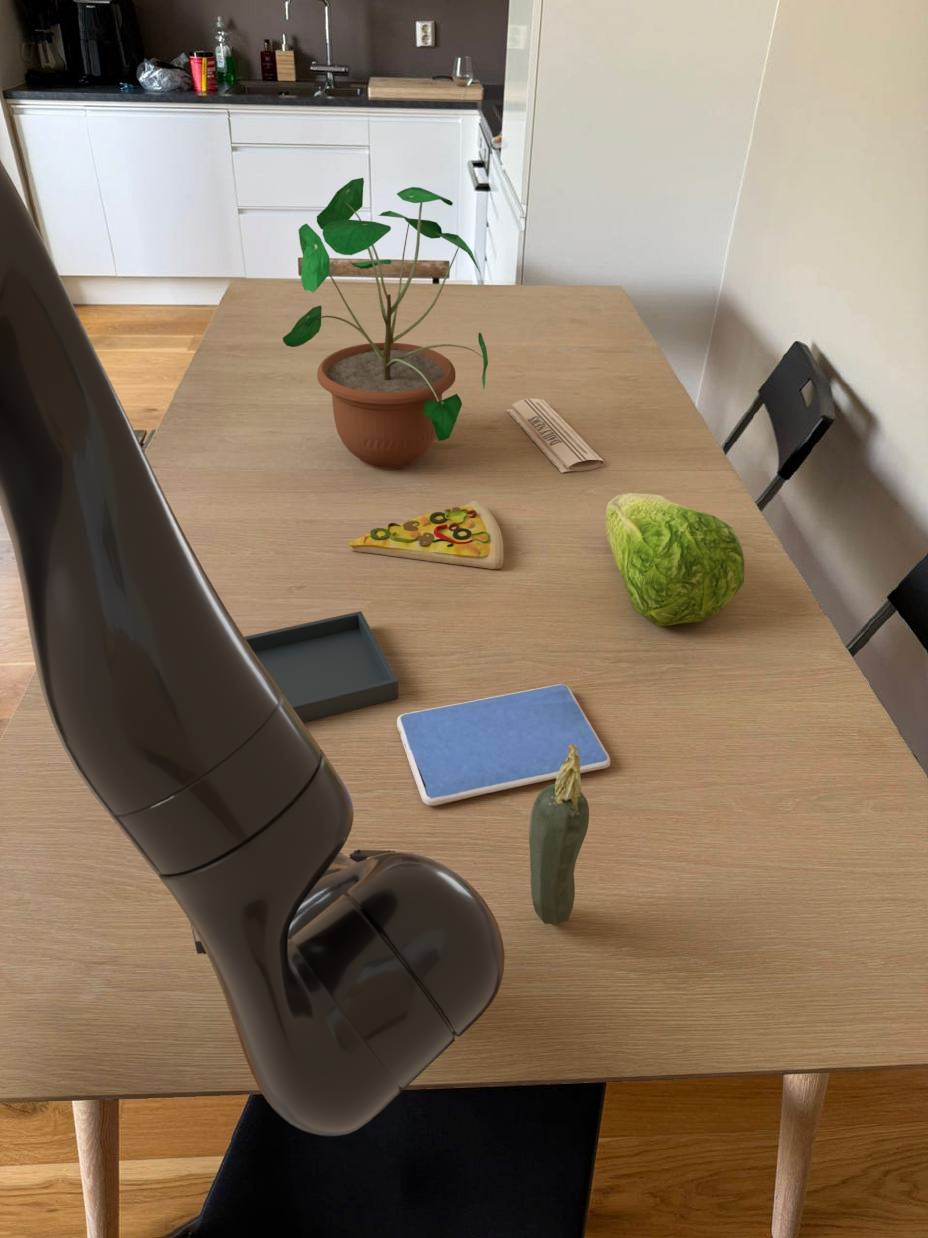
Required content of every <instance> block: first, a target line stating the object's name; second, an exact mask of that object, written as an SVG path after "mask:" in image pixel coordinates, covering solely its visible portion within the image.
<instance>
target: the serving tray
mask: <svg viewBox="0 0 928 1238" xmlns="http://www.w3.org/2000/svg"><path fill="white" fill-rule="evenodd" d="M244 638H245V639H246V641H247V642H248V644H249V645H250V647H251V648H252V650H253V651H254V653H255V654H256V655H257V657H258V658H259V660H260V661H261V663H262V664H263V665H264V667H265V668H266V670H267V671H268V673H269V674H270V675H271V677H272V678H273V680H274V681H275V683H276V684H277V685H278V687H279V688H280V690H281V692H282V693H283V694H284V696H285V697H286V699H287V700H288V702H289V703H290V704H291V706H292V707H293V709H294V710H295V712H296V713H297V715H298V716H299V718H300V719H301V720H302V722H303V723H304V724H305V723H307V722H312V721H315V720H319V719H323V718H326V717H330V716H335V715H338V714H342V713H347V712H350V711H354V710H358V709H362V708H367V707H369V706H373V705H378V704H381V703H386V702H389V701H393V700H397V699H399V698H400V697H399V696H400V695H399V680H398V679H397V678H398V677H397V676H396V674H395V673H394V670H393V669H392V667H391V665H390V663H389V661H388V659H387V657H386V655H385V652H383V650H382V647H381V646H380V644H379V641H378V639H377V638H376V636H375V634H374V632H373V630H372V629H371V627H370V625H369V622H368V621H367V619H366V617H365V616H364V613H363V612H362V611H361V610H359V611H355V612H351V613H346V614H341V615H336V616H332V617H328V618H324V619H323V618H322V619H318V620H315V621H309V622H306V623H305V622H304V623H301V624H296V625H291V626H287V627H283V628H282V627H281V628H278V629H273V630H268V631H264V632H260V633H255V634H250V635H246V636H244Z"/></svg>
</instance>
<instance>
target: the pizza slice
mask: <svg viewBox="0 0 928 1238" xmlns="http://www.w3.org/2000/svg"><path fill="white" fill-rule="evenodd" d="M347 544H348V546H349V549H350V551H351V552H358V553H366V554H374V555H381V556H389V557H396V558H403V559H409V560H410V559H411V560H418V561H426V562H427V561H428V562H434V563H435V562H437V563H443V564H450V565H459V566H467V567H475V568H481V569H482V568H483V569H490V570H499V569H501V568H502V567H503V564H504V540H503V536H502V532H501V529H500V526H499V524H498V522H497V520H496V519H495V517H494V516H493V515H492V513H491V512H490V511H489V510H488V509H487V508H486V507H485V505H484V504H482V503H481V502H480V501H477V500H471V501H470V502H468V503H467V504H465V505H460V506H455V507H451V508H446V509H444V510H442V511H437V512H436V511H435V512H430V513H427V514H424V515H421V516H417V517H416V518H413V519H409V520H407V521H405V522H402V523H401V522H400V523H396V522H390V523H388V525H387V526H385V527H375V528H373V529H371V530H370V531H369V533H367V534H364V535H362V536H360V537H358V538H355V539H354V540H351V541H349V542H348V543H347Z"/></svg>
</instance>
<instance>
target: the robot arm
mask: <svg viewBox="0 0 928 1238" xmlns="http://www.w3.org/2000/svg"><path fill="white" fill-rule="evenodd" d="M79 316H80V315H79V314H78V312H77V310H76V308H75V305H74V304H73V302H72V300H71V297H70V295H69V293H68V291H67V288H66V286H65V285H64V282H63V280H62V278H61V276H60V274H59V271H58V270H57V267H56V265H55V263H54V261H53V259H52V257H51V254H50V252H49V250H48V248H47V246H46V244H45V242H44V240H43V237H42V235H41V233H40V232H39V229H38V228H37V226H36V223H35V221H34V220H33V217H32V215H31V214H30V212H29V210H28V208H27V206H26V204H25V202H24V200H23V198H22V197H21V195H20V192H19V191H18V189H17V187H16V185H15V184H14V182H13V180H12V178H11V177H10V174H9V173H8V171H7V169H6V168H5V165H4V164H3V161H1V159H0V510H1V512H2V516H3V519H4V522H5V526H6V529H7V532H8V535H9V539H10V542H11V544H12V548H13V553H14V557H15V562H16V566H17V571H18V575H19V580H20V585H21V589H22V590H21V591H22V597H23V602H24V603H23V604H24V609H25V614H26V621H27V628H28V633H29V638H30V641H31V642H30V643H31V649H32V653H33V658H34V664H35V668H36V673H37V678H38V681H39V685H40V687H41V688H40V689H41V692H42V696H43V699H44V702H45V705H46V709H47V711H48V714H49V717H50V720H51V722H52V725H53V727H54V729H55V732H56V734H57V736H58V739H59V741H60V744H61V746H62V748H63V749H64V750H65V753H66V755H67V756H68V759H69V760H70V762H71V764H72V766H73V768H74V770H75V771H76V772H77V774H78V775H79V776H80V778H81V780H82V781H83V782H84V784H85V786H86V787H87V788H88V790H89V791H90V792H91V794H92V795H93V796H94V798H95V799H96V800H97V802H98V803H99V804H100V805H101V807H102V808H103V809H104V810H105V812H107V813H108V815H109V816H110V817H111V819H112V820H113V821H114V823H115V824H116V825H117V827H119V829H120V830H121V832H122V833H123V834H124V835H125V837H126V838H127V839H128V840H129V841H130V843H131V844H132V845H133V846H134V848H135V849H136V851H137V852H138V853H139V854H140V855H141V857H142V858H143V860H144V861H146V863H147V864H148V866H149V867H150V868H151V869H152V870H153V872H155V874H156V875H157V876H158V878H159V879H160V881H161V883H163V885H164V886H165V887H166V889H167V890H168V891H169V893H170V894H171V896H172V897H173V898H174V900H175V901H176V903H177V905H179V907H180V908H181V910H182V912H183V914H184V915H185V916H186V918H187V920H188V922H189V923H190V928H191V932H192V933H191V934H192V937H193V941H194V945H195V950H196V954H198V955H202V954H203V955H207V957H208V959H209V961H210V964H211V966H212V970H213V971H214V973H215V976H216V979H217V981H218V983H219V986H220V988H221V991H222V993H223V997H224V999H225V1002H226V1005H227V1009H228V1011H229V1015H230V1017H231V1020H232V1023H233V1026H234V1029H235V1032H236V1035H237V1038H238V1041H239V1043H240V1046H241V1049H242V1052H243V1056H244V1057H245V1060H246V1062H247V1065H248V1067H249V1070H250V1073H251V1075H252V1077H253V1079H254V1082H255V1083H256V1085H257V1087H258V1089H259V1091H260V1093H261V1094H262V1096H263V1097H264V1099H265V1100H266V1102H267V1103H268V1104H269V1105H270V1107H271V1109H273V1111H274V1112H275V1113H276V1114H278V1116H280V1118H282V1119H283V1120H284V1121H286V1122H287V1123H288V1124H290V1125H291V1126H293V1127H294V1128H296V1129H298V1130H301V1131H303V1132H306V1133H309V1134H313V1135H316V1136H319V1137H320V1136H321V1137H322V1136H323V1137H339V1136H346V1135H349V1134H352V1133H355V1132H356V1131H359V1129H361V1128H362V1127H364V1126H365V1125H367V1124H368V1123H370V1122H371V1121H372V1120H373V1119H374V1118H375V1117H377V1116H378V1115H379V1114H380V1113H381V1112H383V1110H385V1109H386V1108H387V1107H388V1106H389V1105H390V1104H391V1102H393V1101H394V1100H395V1099H396V1098H397V1097H398V1096H399V1095H400V1094H401V1093H402V1091H403V1090H405V1089H407V1087H409V1086H410V1085H411V1084H412V1082H414V1081H415V1079H417V1078H418V1077H419V1076H420V1075H421V1074H422V1073H423V1072H424V1071H425V1070H426V1069H427V1068H429V1066H431V1065H432V1064H433V1062H434V1061H435V1060H437V1059H438V1058H439V1057H440V1056H441V1055H442V1054H443V1053H444V1052H445V1051H446V1050H447V1049H448V1048H450V1046H451V1045H452V1044H453V1043H454V1042H455V1041H456V1038H458V1037H459V1038H460V1037H462V1035H463V1034H464V1033H465V1032H466V1031H468V1030H469V1029H470V1028H471V1027H472V1026H473V1025H474V1024H475V1023H476V1022H477V1021H478V1020H479V1019H480V1018H481V1017H482V1016H483V1015H484V1014H485V1013H486V1011H487V1010H488V1009H489V1007H490V1006H491V1005H492V1003H493V1002H494V1000H495V998H497V995H498V993H499V991H500V988H501V985H502V982H503V978H504V973H505V960H506V959H505V958H506V954H505V945H504V941H503V937H502V934H501V929H500V926H499V924H498V922H497V919H496V917H495V915H494V914H493V911H492V910H491V909H490V907H489V905H488V904H487V902H486V901H485V900H484V898H483V897H482V896H481V894H480V893H479V892H478V891H477V890H476V889H475V887H474V886H472V885H471V883H469V881H467V880H466V879H465V878H464V877H462V876H461V875H460V874H458V873H457V872H455V871H454V870H452V869H451V868H449V867H448V866H446V865H445V864H443V863H440V862H439V861H436V860H434V859H432V858H431V857H427V856H424V855H422V854H419V853H413V852H406V851H396V850H389V849H388V850H380V849H379V850H378V849H377V850H376V849H361V848H358V849H355V850H354V851H353V852H351V853H349V856H347V855H345V854H343V853H342V852H341V851H342V849H343V848H344V846H345V844H346V842H347V840H348V838H349V836H350V833H351V831H352V829H353V828H352V827H353V823H354V817H355V816H354V814H355V813H354V812H355V811H354V805H353V801H352V797H351V794H350V792H349V790H348V788H347V786H346V785H345V783H344V781H343V779H342V778H341V776H340V775H339V773H338V772H337V770H336V769H335V767H334V765H333V764H332V762H331V760H329V759H328V757H327V756H326V754H325V752H324V750H322V749H321V746H320V745H319V743H317V741H316V739H315V737H314V736H313V735H312V734H311V732H310V731H309V729H308V728H307V726H306V725H305V722H304V723H303V722H302V720H301V719H300V718H299V716H298V715H297V713H296V712H295V710H294V709H293V707H292V706H291V704H290V703H289V702H288V700H287V699H286V697H285V696H284V694H283V693H282V692H281V690H280V688H279V687H278V685H277V684H276V683H275V681H274V680H273V678H272V677H271V675H270V674H269V673H268V671H267V670H266V668H265V667H264V665H263V664H262V663H261V661H260V660H259V658H258V657H257V655H256V654H255V653H254V651H253V650H252V648H251V647H250V645H249V644H248V642H247V641H246V639H245V638H244V637H245V636H244V634H243V633H242V631H241V630H240V628H239V627H238V625H237V623H236V622H235V621H234V619H233V617H232V616H231V614H230V612H229V611H228V609H227V608H226V606H225V604H224V603H223V601H222V599H221V597H220V596H219V594H218V592H217V591H216V589H215V586H214V585H213V583H212V582H211V580H210V578H209V576H208V575H207V573H206V571H205V570H204V568H203V566H202V564H201V562H200V561H199V559H198V557H197V555H196V553H195V551H194V549H193V547H192V546H191V544H190V542H189V540H188V539H187V537H186V535H185V533H184V531H183V528H182V527H181V525H180V523H179V521H178V519H177V517H176V515H175V512H174V511H173V509H172V508H171V505H170V504H169V501H168V499H167V497H166V495H165V493H164V491H163V489H162V487H161V484H160V482H159V481H158V478H157V476H156V473H155V472H154V469H153V468H152V465H151V463H150V461H149V459H148V456H147V455H146V453H145V450H144V448H143V447H142V445H141V442H140V440H139V438H138V436H137V435H136V431H135V430H134V427H133V426H132V423H131V421H130V419H129V417H128V415H127V413H126V411H125V409H124V407H123V404H122V402H121V401H120V399H119V396H118V394H117V391H116V389H115V388H114V386H113V383H112V381H111V380H110V378H109V375H108V373H107V371H106V370H105V368H104V366H103V364H102V362H101V360H100V358H99V356H98V353H97V352H96V350H95V347H94V345H93V344H92V342H91V340H90V338H89V335H88V333H87V331H86V329H85V327H84V325H83V323H82V321H81V319H80V317H79Z"/></svg>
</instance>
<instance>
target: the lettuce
mask: <svg viewBox="0 0 928 1238" xmlns="http://www.w3.org/2000/svg"><path fill="white" fill-rule="evenodd" d="M604 530H605V531H604V532H605V535H606V539H607V542H608V545H609V548H610V551H611V555H612V557H613V559H614V562H615V564H616V567H617V569H618V571H619V573H620V576H621V578H622V580H623V582H624V586H625V589H626V591H627V595H628V598H629V600H630V605H631V608H632V610H634V611H635V612H637V613H638V614H640V615H641V616H642V617H644V618H645V619H647V620H648V621H649V622H652V623H653V624H654V625H656V626H657V627H659V628H662V627H667V626H673V625H679V624H693V623H695V624H696V623H700V622H702V621H705V620H707V619H709V618H712V617H714V616H717V615H718V614H720V613H721V611H722V610H723V609H724V608H726V607H727V605H728V604H730V603H731V601H732V600H733V599H734V597H735V596H736V595H737V593H738V592H739V591H740V589H741V588H742V586H743V585H744V583H745V556H744V550H743V546H742V544H741V542H740V539H739V538H738V535H737V533H736V531H735V528H733V527H732V526H731V525H729V524H727V523H726V522H724V521H723V520H721V519H720V518H718V517H716V516H715V515H712V514H709V513H707V512H704V511H699V510H696V509H693V508H691V507H689V506H686V505H683V504H680V503H676V502H673V501H672V500H670V499H669V498H667V497H665V496H663V494H662V495H661V494H653V493H633V492H632V493H631V492H628V493H624V494H621V493H619V494H617V495H616V496H615V497H614V498H613V499H611V500H610V501H608V502H607V507H606V510H605V514H604Z"/></svg>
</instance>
